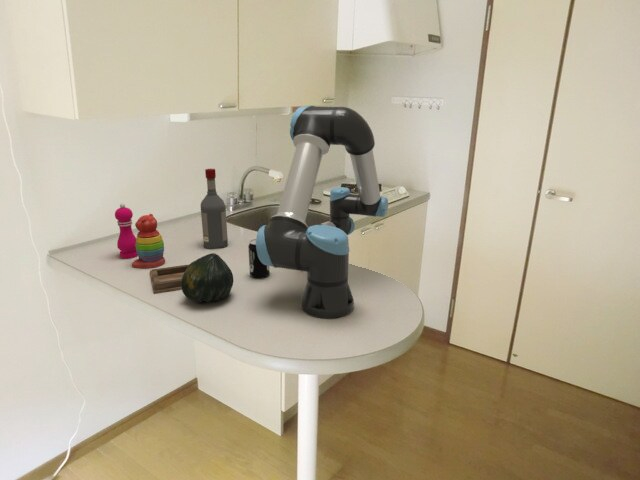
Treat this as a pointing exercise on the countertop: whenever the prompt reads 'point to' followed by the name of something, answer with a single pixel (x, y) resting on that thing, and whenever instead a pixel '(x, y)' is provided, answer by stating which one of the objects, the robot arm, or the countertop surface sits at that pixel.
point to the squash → (207, 279)
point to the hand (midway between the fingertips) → (280, 247)
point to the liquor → (213, 216)
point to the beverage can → (256, 262)
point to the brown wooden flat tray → (167, 278)
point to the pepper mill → (125, 233)
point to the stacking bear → (148, 243)
